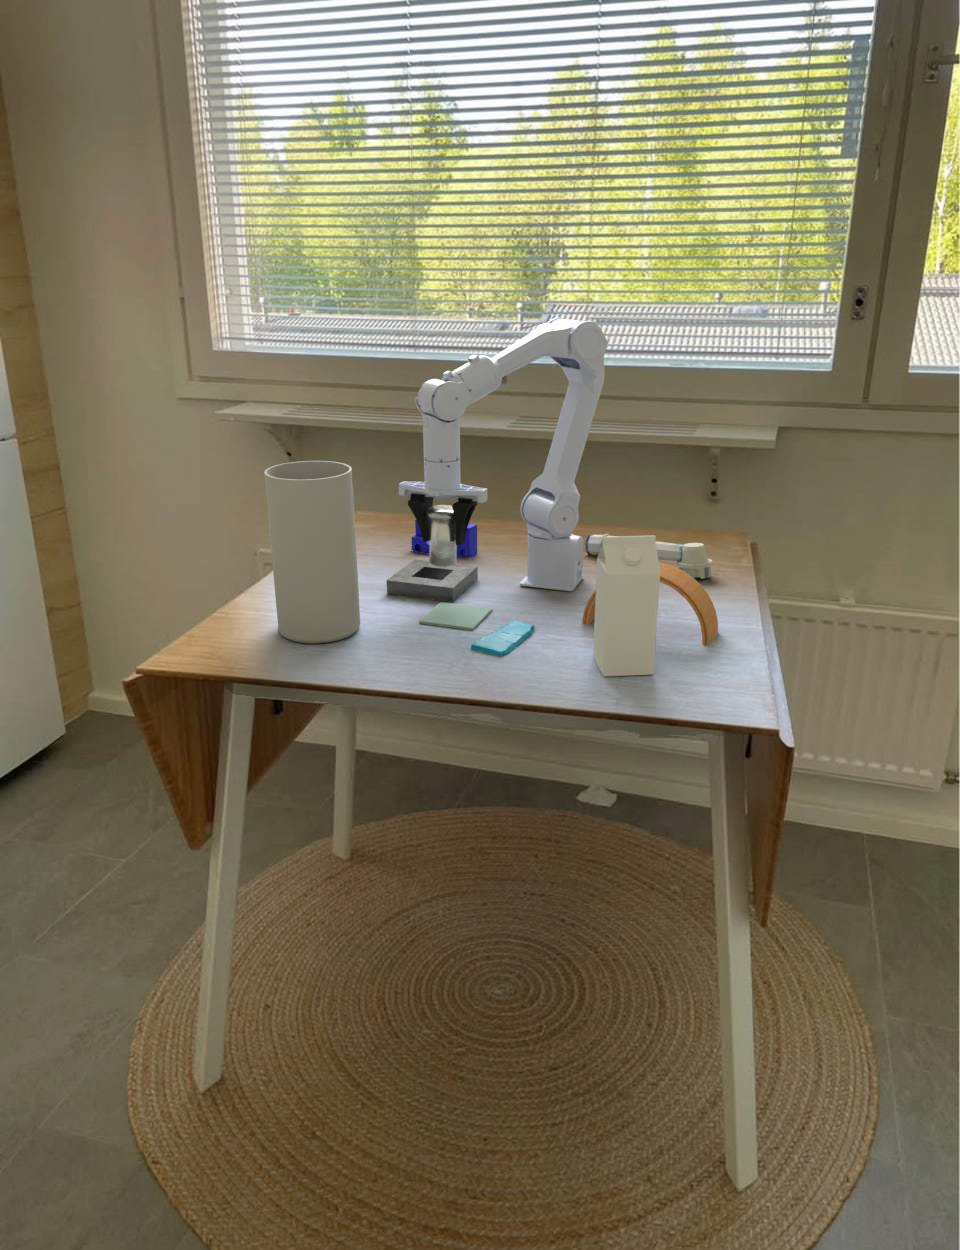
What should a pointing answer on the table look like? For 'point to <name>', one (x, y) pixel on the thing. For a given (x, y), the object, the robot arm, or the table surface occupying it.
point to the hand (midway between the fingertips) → (443, 541)
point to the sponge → (504, 638)
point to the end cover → (442, 535)
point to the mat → (456, 616)
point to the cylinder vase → (313, 550)
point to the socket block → (432, 581)
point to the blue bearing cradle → (463, 550)
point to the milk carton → (626, 605)
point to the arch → (688, 590)
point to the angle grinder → (668, 555)
